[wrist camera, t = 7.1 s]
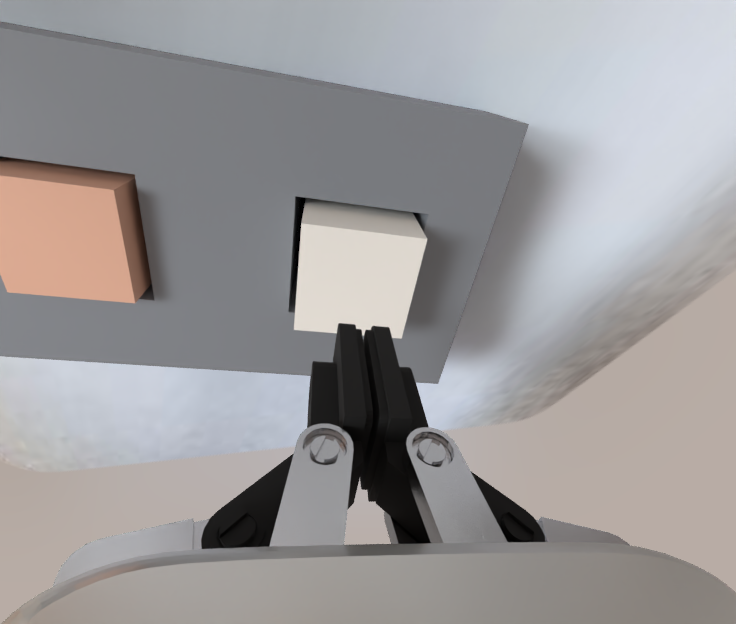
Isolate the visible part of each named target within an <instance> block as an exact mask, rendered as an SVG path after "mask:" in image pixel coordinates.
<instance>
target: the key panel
mask: <svg viewBox="0 0 736 624" xmlns="http://www.w3.org/2000/svg"><path fill="white" fill-rule="evenodd" d="M528 125H529V124H526V123H522V122H519V121H516V120H512V119H509V118H506V117H502V116H499V115H496V114H492V113H489V112H486V111H481V110H475V109H470V108H464V107H459V106H454V105H448V104H443V103H437V102H432V101H427V100H421V99H416V98H410V97H405V96H399V95H394V94H389V93H383V92H378V91H372V90H367V89H362V88H356V87H351V86H345V85H340V84H335V83H329V82H324V81H318V80H313V79H308V78H302V77H297V76H291V75H286V74H281V73H275V72H270V71H264V70H259V69H253V68H248V67H243V66H237V65H232V64H226V63H221V62H216V61H210V60H205V59H199V58H194V57H189V56H183V55H178V54H172V53H167V52H162V51H156V50H151V49H145V48H140V47H134V46H129V45H124V44H118V43H113V42H107V41H102V40H97V39H91V38H86V37H80V36H75V35H70V34H64V33H59V32H53V31H48V30H43V29H37V28H32V27H26V26H21V25H16V24H10V23H5V22H0V159H1V158H4V157H10V158H18V159H25V160H32V161H40V162H47V163H54V164H62V165H69V166H76V167H84V168H91V169H99V170H106V171H113V172H121V173H128V174H135V180H136V186H137V192H138V199H139V205H140V211H141V218H142V224H143V230H144V236H145V243H146V249H147V255H148V262H149V268H150V274H151V281H152V283H151V285H150V286H149V287H148V288H147V290H146V291H145V292H144V293H143V295H142V296H141V297H140V298H139V299H138V301H137V302H136V303H125V302H113V301H102V300H90V299H79V298H67V297H56V296H44V295H32V294H21V293H9V292H7V290H6V288H5V285H4V282H3V280H2V277H1V275H0V356H5V357H21V358H37V359H53V360H69V361H85V362H101V363H117V364H133V365H148V366H164V367H180V368H196V369H212V370H228V371H244V372H260V373H276V374H291V375H307V376H311V370H312V362H313V361H318V362H333V356H334V349H335V342H336V335H337V333H326V332H314V331H301V330H294V319H295V305H296V291H297V277H298V268H296V256H297V242H298V227H299V212H300V197H305V198H312V199H319V200H327V201H334V202H341V203H349V204H356V205H364V206H371V207H378V208H386V209H393V210H400V211H408V212H413V214H414V216H415V218H416V220H417V221H418V223H419V225H420V227H421V229H422V230H423V232H424V234H425V236H426V237H427V243H426V247H425V250H424V254H423V258H422V262H421V266H420V270H419V274H418V277H417V281H416V285H415V289H414V293H413V297H412V301H411V304H410V308H409V312H408V316H407V320H406V324H405V327H404V331H403V335H402V339H400V338H392V340H393V344H394V348H395V351H396V355H397V359H398V363H399V367H410V368H411V370H412V372H413V376H414V379H415V382H419V383H434V384H438V382H439V379H440V376H441V373H442V371H443V368H444V365H445V362H446V359H447V356H448V353H449V351H450V348H451V345H452V342H453V339H454V336H455V333H456V331H457V328H458V325H459V322H460V319H461V316H462V313H463V311H464V308H465V305H466V302H467V299H468V296H469V293H470V291H471V288H472V285H473V282H474V279H475V276H476V273H477V271H478V268H479V265H480V262H481V259H482V256H483V253H484V251H485V248H486V245H487V242H488V239H489V236H490V233H491V231H492V228H493V225H494V222H495V219H496V216H497V213H498V211H499V208H500V205H501V202H502V199H503V196H504V193H505V191H506V188H507V185H508V182H509V179H510V176H511V173H512V171H513V168H514V165H515V162H516V159H517V156H518V153H519V150H520V148H521V145H522V142H523V139H524V136H525V133H526V130H527V128H528ZM362 337H363V339H364V336H363V335H362Z"/></svg>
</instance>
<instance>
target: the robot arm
mask: <svg viewBox="0 0 736 624" xmlns="http://www.w3.org/2000/svg"><path fill="white" fill-rule="evenodd" d="M359 478H360V481H361V488H362V489H365V490H368V500H369V501H376V504H377V505H379V506H380V507H381V508H382V509H383V510H384V511H385V512H384V519H385V524H386V527H387V531H388V534H389V538H390V542H391V544H369V545H367V544H366V545H344V538H345V529H346V520H347V510H348V508H349V507H350V506H351V505H352V504H353V503H354V498H355V494H356V490H357V486H358V482H359ZM2 624H736V592H735V591H733V590H732V589H731V588H730V587H729V586H727V584H725V583H724V582H722V581H721V580H719V579H718V578H717V577H715V576H714V575H712V574H710V573H709V572H706V571H705V570H703V569H701V568H699V567H697V566H695V565H693V564H690V563H688V562H686V561H683V560H681V559H678V558H675V557H673V556H670V555H667V554H665V553H661V552H657V551H653V550H649V549H645V548H641V547H636V546H630V545H629V544H628V543H627V542H625V541H624V540H623V539H621V538H620V537H618V536H616V535H613V534H611V533H608V532H603V531H600V530H595V529H591V528H587V527H582V526H578V525H574V524H570V523H565V522H561V521H557V520H553V519H548V518H544V517H541V518H540V519H539V520H535V519H534V517H532V516H531V515H530V514H529V513H528V512H527V511H526V510H524V509H523V508H521V507H520V506H519V505H517V504H516V503H515V502H513V501H512V500H510V499H509V498H508V497H506V496H505V495H503V494H502V493H500V492H499V491H498V490H496V489H495V488H493V487H492V486H491V485H489V484H488V483H486V482H485V481H484V480H482V479H481V478H479V477H478V476H477V475H475V474H474V473H472V472H471V471H470V469H469V467H468V466H467V464H466V462H465V460H464V458H463V456H462V454H461V452H460V450H459V448H458V446H457V445H456V444H455V442H454V441H453V439H451V438H450V437H449V436H448V435H447V434H445V433H444V432H442V431H440V430H438V429H434V428H430V427H428V424H427V420H426V417H425V413H424V410H423V407H422V403H421V400H420V396H419V393H418V389H417V386H416V383H415V379H414V376H413V372H412V370H411V368H410V367H399V363H398V359H397V355H396V351H395V348H394V344H393V340H392V336H391V332H390V328H389V327H381V326H372V328H371V330H365V334H364V339H363V337H362V330H361V329H356V325H355V324H344V323H339V324H338V328H337V335H336V342H335V349H334V356H333V362H318V361H313V362H312V370H311V379H310V390H309V404H308V425H307V429H305V430H304V431H303V432H302V433H301V434H300V436H299V438H298V440H297V443H296V447H295V451H294V454H292V455H291V456H290V457H288V458H287V459H286V460H284V461H283V462H282V463H281V464H279V465H278V466H277V467H275V468H274V469H273V470H271V471H270V472H269V473H267V474H266V475H265V476H263V477H262V478H261V479H259V480H258V481H257V482H255V483H254V484H253V485H251V486H250V487H249V488H247V489H246V490H245V491H243V492H242V493H241V494H240V495H238V496H237V497H236V498H234V499H233V500H232V501H230V502H229V503H228V504H226V505H225V506H224V507H222V508H221V509H220V510H218V511H217V512H216V513H215V514H214V516H212V517H211V518H210V519H207V520H203V521H198V522H194V521H193V519H188V520H183V521H179V522H174V523H169V524H165V525H160V526H156V527H151V528H147V529H143V530H138V531H133V532H129V533H124V534H120V535H115V536H111V537H106V538H102V539H98V540H96V541H93V542H90V543H88V544H85V545H84V546H83V547H81V548H80V549H78V550H77V551H75V552H74V553H73V554H72V555H71V556H70V557H69V558H68V559H67V560H66V562H65V563H64V564H63V565H62V566H61V568H60V570H59V573H58V575H57V577H56V579H55V582H54V586H53V587H52V588H50V589H48V590H46V591H44V592H42V593H41V594H39V595H38V596H36V597H34V598H33V599H31V600H30V601H28V602H27V603H25V604H23V605H22V606H21V607H20V608H19V609H17V610H16V611H14V612H13V613H12V614H11V615H10V616H9V617H8V618H7V619H6V620H5V621H4V622H2Z"/></svg>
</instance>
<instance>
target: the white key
mask: <svg viewBox="0 0 736 624" xmlns="http://www.w3.org/2000/svg"><path fill="white" fill-rule="evenodd" d="M426 243H427V237H426V236H425V234H424V232H423V230H422V229H421V227H420V225H419V223H418V221H417V220H416V218H415V216H414V214H413V212H408V211H400V210H393V209H386V208H378V207H371V206H364V205H356V204H349V203H341V202H334V201H327V200H319V199H312V198H306V200H305V206H304V211H303V217H302V223H301V235H300V249H299V263H298V277H297V291H296V305H295V319H294V330H301V331H314V332H326V333H337V328H338V324H339V323H344V324H355V325H356V329H361V330H362V335H363V336H364V334H365V330H371V328H372V326H381V327H389V328H390V332H391V336H392V338H400V339H402V335H403V331H404V327H405V324H406V320H407V316H408V312H409V308H410V304H411V301H412V297H413V293H414V289H415V285H416V281H417V277H418V274H419V270H420V266H421V262H422V258H423V254H424V250H425V247H426Z"/></svg>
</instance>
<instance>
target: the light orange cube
mask: <svg viewBox="0 0 736 624" xmlns="http://www.w3.org/2000/svg"><path fill="white" fill-rule="evenodd" d="M0 275H1V277H2V280H3V282H4V285H5V288H6V290H7V292H9V293H21V294H32V295H44V296H56V297H67V298H79V299H90V300H102V301H113V302H125V303H136V302H137V301H138V299H139V298H140V297H141V296H142V295H143V293H144V292H145V291H146V290H147V288H148V287H149V286H150V285H151V283H152V281H151V274H150V268H149V262H148V255H147V249H146V243H145V236H144V230H143V224H142V218H141V211H140V205H139V199H138V192H137V186H136V180H135V174H128V173H121V172H113V171H106V170H99V169H91V168H84V167H76V166H69V165H62V164H54V163H47V162H40V161H32V160H25V159H18V158H10V157H4V158H1V159H0Z"/></svg>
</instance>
